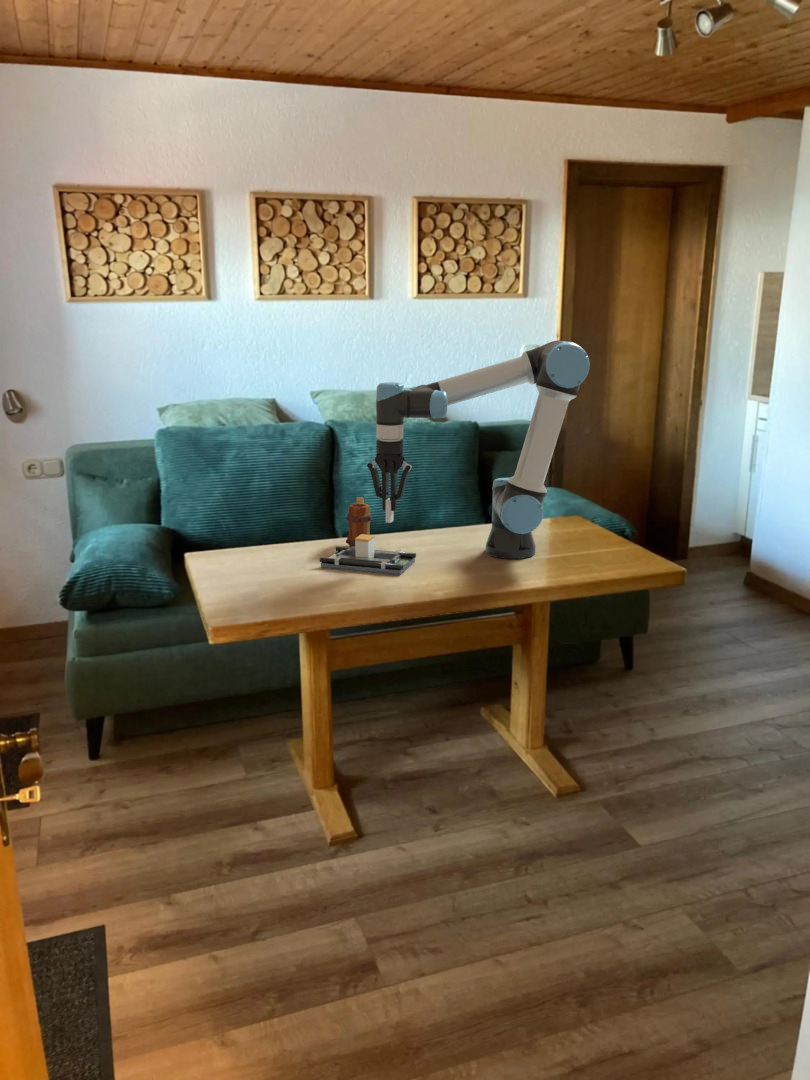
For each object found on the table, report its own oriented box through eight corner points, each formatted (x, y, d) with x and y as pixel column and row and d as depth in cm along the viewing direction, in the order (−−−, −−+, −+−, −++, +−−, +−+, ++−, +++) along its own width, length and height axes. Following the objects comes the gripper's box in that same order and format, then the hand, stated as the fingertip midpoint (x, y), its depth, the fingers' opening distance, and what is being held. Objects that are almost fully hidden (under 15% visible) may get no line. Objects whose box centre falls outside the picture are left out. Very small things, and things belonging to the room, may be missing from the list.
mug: (371, 553, 261) (371, 505, 257) (345, 553, 261) (344, 505, 257) (374, 541, 275) (373, 495, 271) (349, 540, 275) (348, 495, 271)
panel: (416, 561, 252) (416, 551, 252) (401, 575, 239) (401, 565, 239) (337, 554, 260) (337, 545, 259) (319, 568, 247) (318, 557, 246)
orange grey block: (374, 556, 251) (374, 535, 249) (368, 561, 246) (368, 539, 245) (361, 555, 252) (361, 534, 251) (355, 560, 248) (354, 538, 246)
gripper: (416, 438, 239) (415, 520, 245) (372, 436, 243) (372, 516, 249) (408, 442, 232) (407, 526, 239) (363, 439, 236) (363, 522, 242)
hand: (389, 521), depth 244 cm, fingers closed
